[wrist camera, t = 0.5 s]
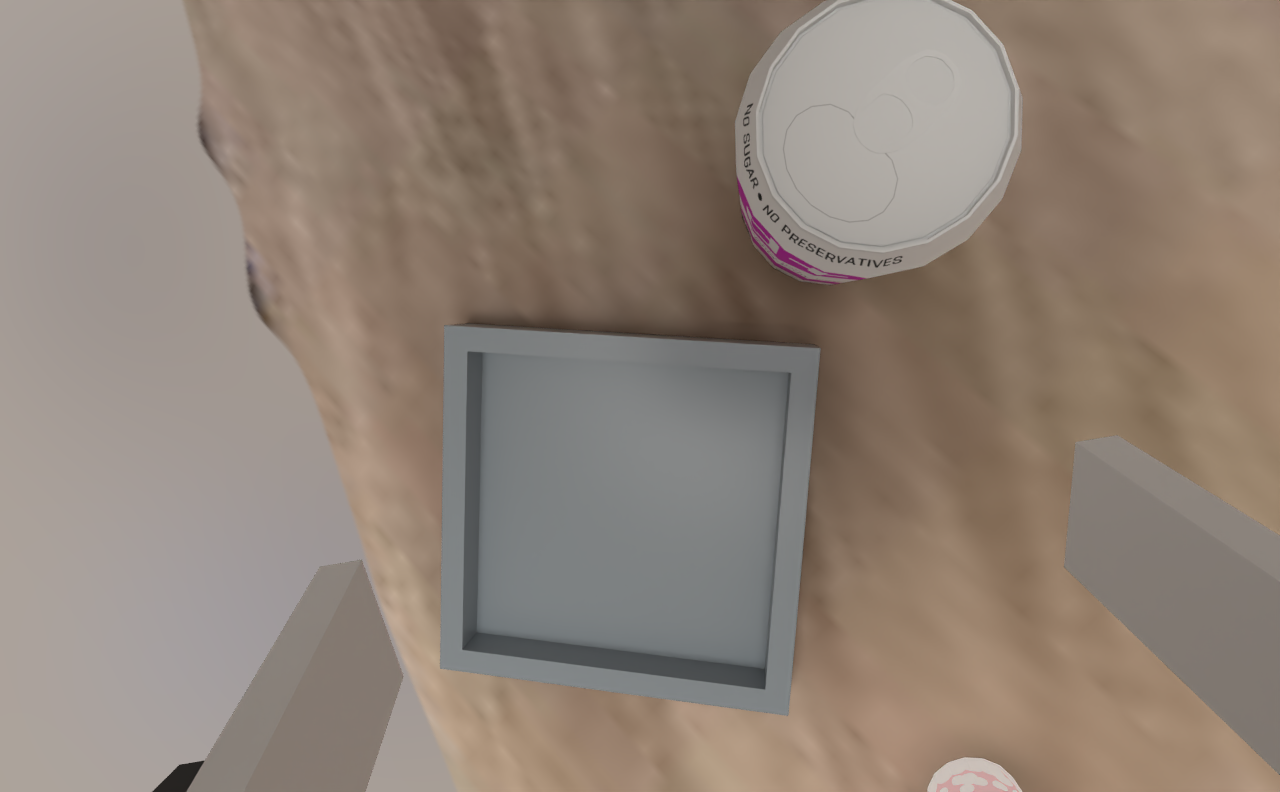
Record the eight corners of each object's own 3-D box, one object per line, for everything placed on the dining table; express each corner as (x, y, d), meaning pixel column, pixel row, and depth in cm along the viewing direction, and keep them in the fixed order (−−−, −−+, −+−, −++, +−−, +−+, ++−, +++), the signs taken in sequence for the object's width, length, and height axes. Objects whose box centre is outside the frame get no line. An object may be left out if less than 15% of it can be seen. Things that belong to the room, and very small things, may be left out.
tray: (468, 323, 38) (444, 325, 35) (814, 344, 35) (820, 348, 32) (462, 641, 40) (440, 668, 37) (785, 683, 38) (788, 715, 35)
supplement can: (819, 319, 35) (866, 334, 20) (706, 195, 35) (673, 119, 20) (954, 202, 33) (1112, 126, 19) (836, 71, 33) (901, -107, 19)
